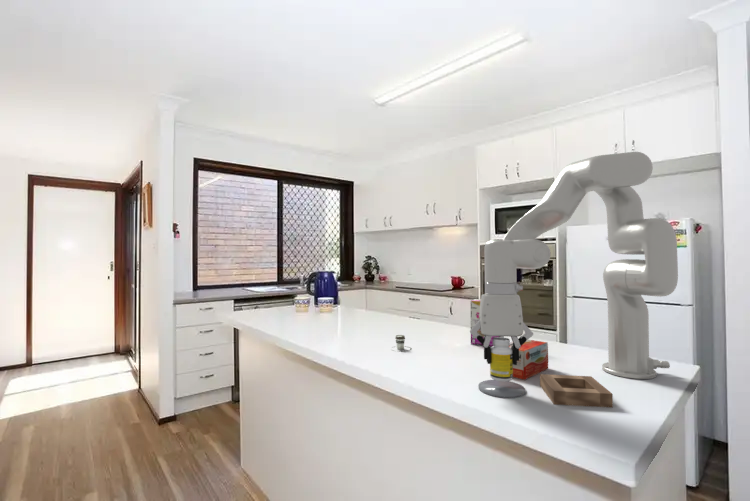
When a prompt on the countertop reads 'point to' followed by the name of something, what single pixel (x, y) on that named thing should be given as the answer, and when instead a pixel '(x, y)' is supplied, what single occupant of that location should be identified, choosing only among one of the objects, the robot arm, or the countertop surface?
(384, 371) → the countertop surface
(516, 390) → the coaster
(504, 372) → the supplement bottle
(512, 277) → the robot arm
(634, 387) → the countertop surface
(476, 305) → the candy bar box
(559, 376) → the pocket holder
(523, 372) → the medicine box
